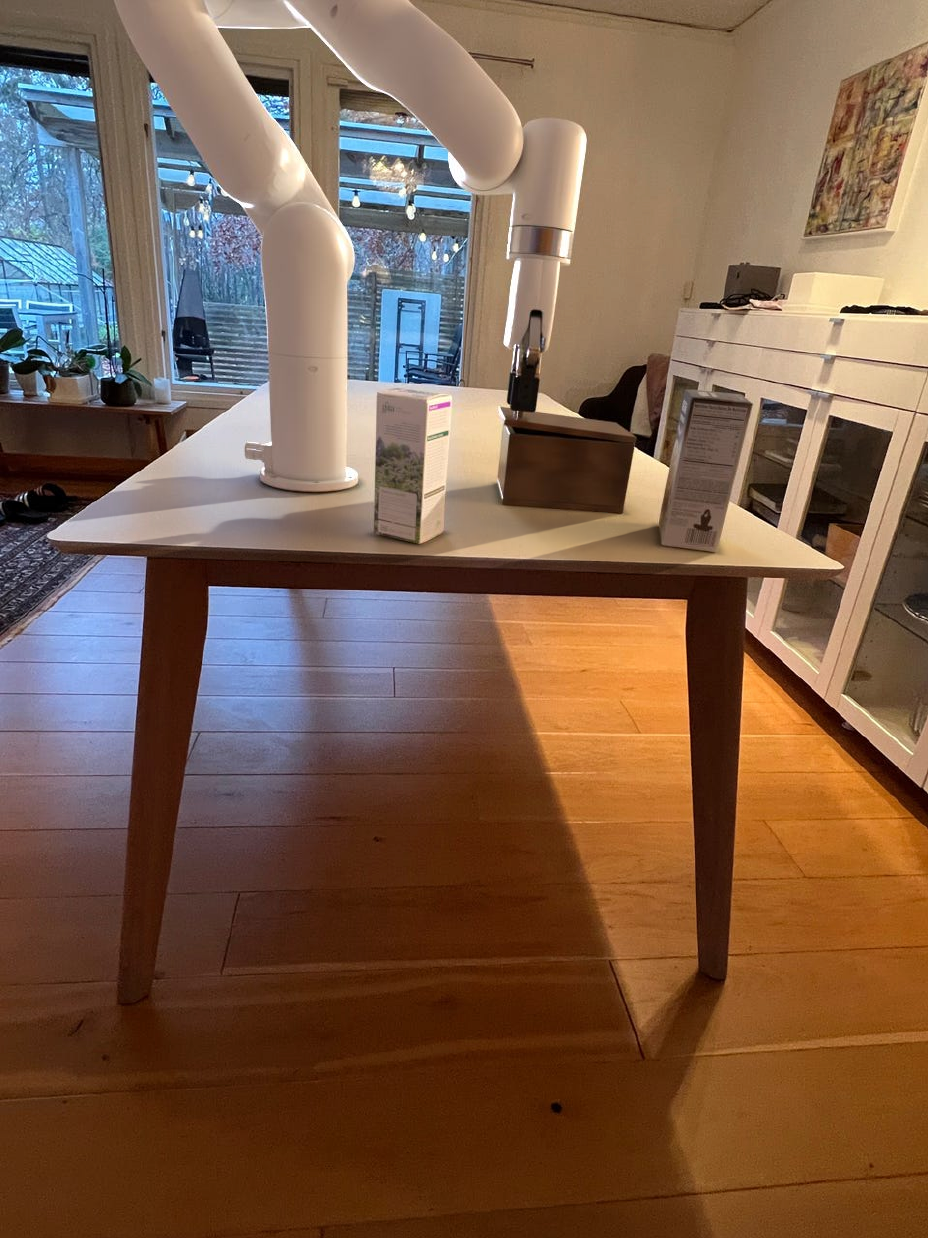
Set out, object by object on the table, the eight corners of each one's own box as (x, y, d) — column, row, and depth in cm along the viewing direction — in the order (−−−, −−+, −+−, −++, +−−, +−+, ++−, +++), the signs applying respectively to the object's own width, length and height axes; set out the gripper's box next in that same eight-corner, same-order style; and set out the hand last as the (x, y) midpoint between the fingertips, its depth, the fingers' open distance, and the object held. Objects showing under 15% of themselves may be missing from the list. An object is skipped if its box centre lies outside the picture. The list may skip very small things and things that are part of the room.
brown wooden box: (502, 504, 88) (509, 433, 84) (496, 483, 99) (503, 419, 95) (622, 513, 89) (635, 443, 85) (604, 491, 99) (615, 428, 96)
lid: (503, 425, 84) (510, 380, 82) (498, 412, 95) (504, 372, 93) (635, 443, 85) (645, 399, 83) (615, 428, 96) (623, 389, 94)
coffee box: (656, 524, 85) (683, 387, 79) (709, 531, 84) (741, 393, 78) (660, 546, 77) (691, 395, 70) (719, 554, 76) (756, 402, 69)
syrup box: (445, 532, 75) (455, 393, 69) (419, 546, 70) (427, 397, 64) (399, 522, 77) (405, 386, 71) (370, 535, 72) (374, 389, 66)
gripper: (503, 250, 89) (488, 397, 96) (513, 238, 73) (495, 414, 81) (560, 256, 89) (541, 402, 97) (583, 245, 74) (558, 420, 81)
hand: (520, 406), depth 89 cm, fingers closed on lid, 5 cm apart
